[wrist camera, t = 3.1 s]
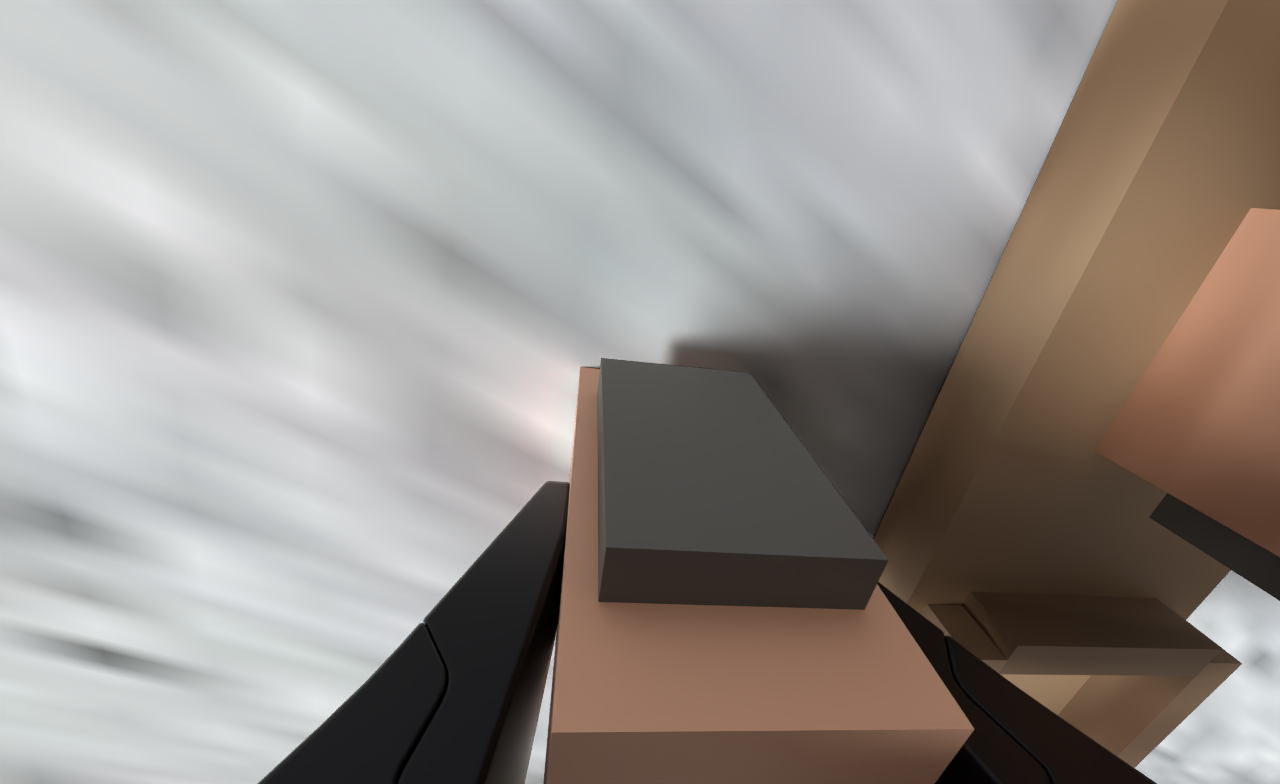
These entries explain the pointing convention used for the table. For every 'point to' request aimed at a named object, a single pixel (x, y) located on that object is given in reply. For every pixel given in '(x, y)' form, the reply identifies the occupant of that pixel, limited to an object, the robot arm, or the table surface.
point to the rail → (1118, 388)
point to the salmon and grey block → (725, 603)
